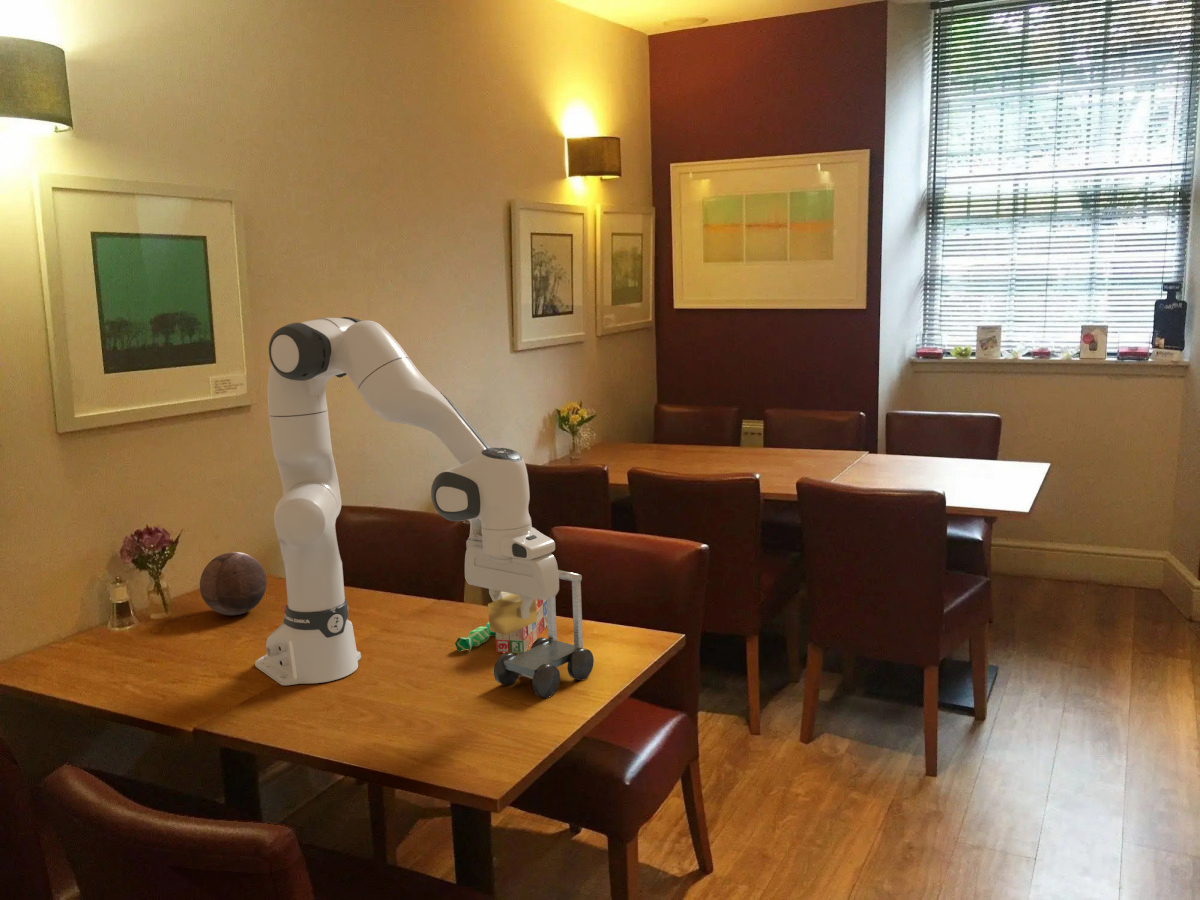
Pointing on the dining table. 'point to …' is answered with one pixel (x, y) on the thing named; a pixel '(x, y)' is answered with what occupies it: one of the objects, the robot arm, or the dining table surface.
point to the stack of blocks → (523, 631)
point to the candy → (475, 638)
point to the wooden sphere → (233, 583)
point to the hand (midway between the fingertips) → (512, 615)
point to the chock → (509, 615)
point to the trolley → (550, 651)
